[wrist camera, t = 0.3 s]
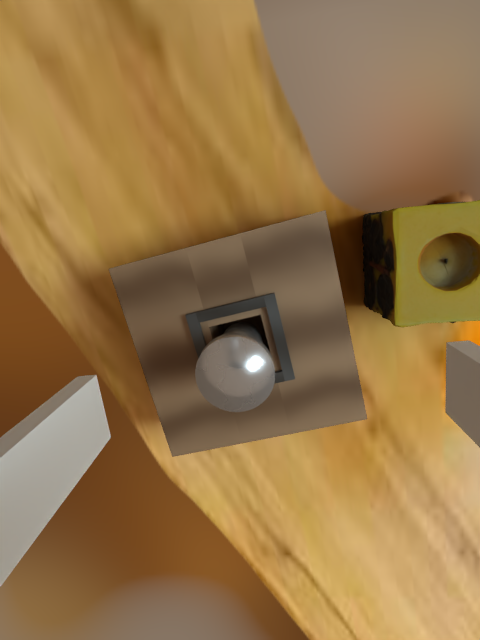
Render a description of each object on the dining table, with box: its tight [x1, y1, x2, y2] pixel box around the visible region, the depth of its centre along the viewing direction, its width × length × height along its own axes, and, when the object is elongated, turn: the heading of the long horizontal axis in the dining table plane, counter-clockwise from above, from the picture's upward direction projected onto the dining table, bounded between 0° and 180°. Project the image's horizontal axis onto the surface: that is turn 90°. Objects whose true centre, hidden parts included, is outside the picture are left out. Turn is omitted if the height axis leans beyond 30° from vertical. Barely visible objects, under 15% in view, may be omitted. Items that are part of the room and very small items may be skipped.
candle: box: [362, 200, 480, 327], centre depth 34 cm, size 10×10×10 cm
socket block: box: [109, 211, 367, 457], centre depth 38 cm, size 20×20×8 cm
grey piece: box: [195, 322, 275, 412], centre depth 31 cm, size 6×6×8 cm
